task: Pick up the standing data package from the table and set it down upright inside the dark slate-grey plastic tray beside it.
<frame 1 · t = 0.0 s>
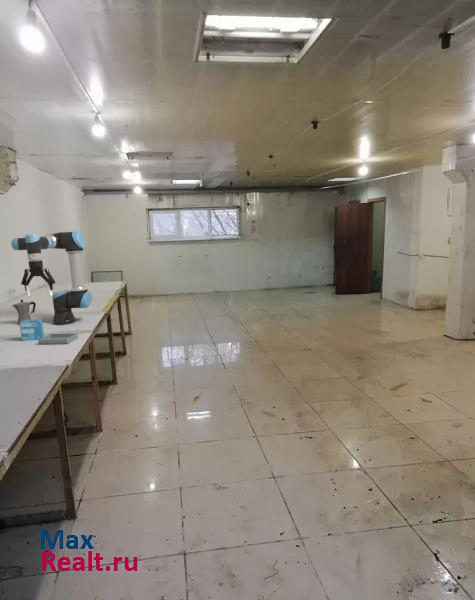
hand: (39, 296, 253), 28 cm above the table, tool pointing down, fingers open, 13 cm apart
data package: (33, 339, 264), on the table
coffeepot: (26, 323, 310), on the table
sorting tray: (58, 341, 256), on the table
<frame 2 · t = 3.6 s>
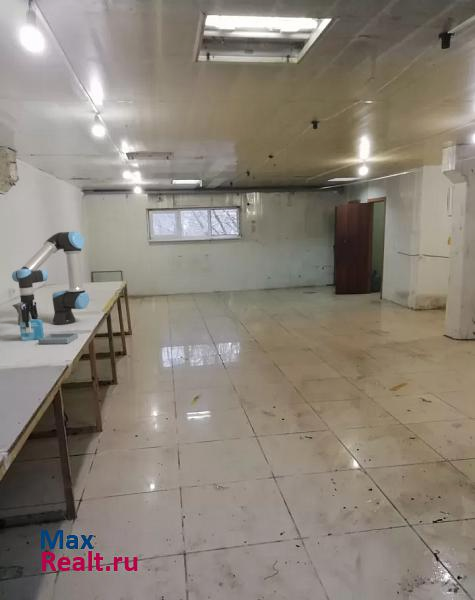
hand: (31, 330, 263), 5 cm above the table, tool pointing down, fingers closed on data package, 6 cm apart
data package: (33, 339, 264), on the table, touching gripper
everything else where it was.
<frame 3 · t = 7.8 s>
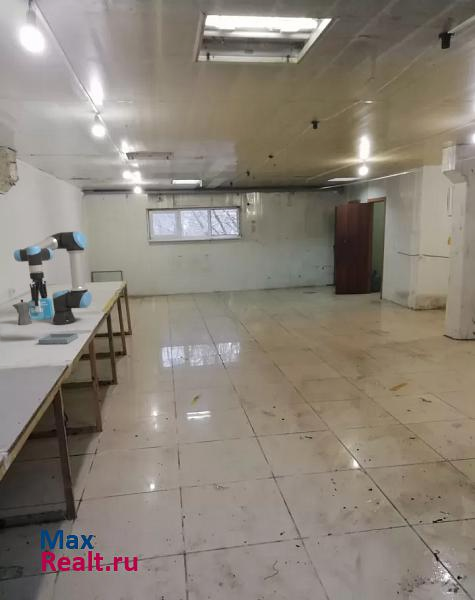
hand: (41, 310, 256), 19 cm above the table, tool pointing down, fingers closed on data package, 5 cm apart
data package: (42, 319, 257), point 13 cm above the table, touching gripper
everything else where it was.
when the fingers open (8 cm above the table, at t = 12.4 s): data package drops 2 cm, resting on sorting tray.
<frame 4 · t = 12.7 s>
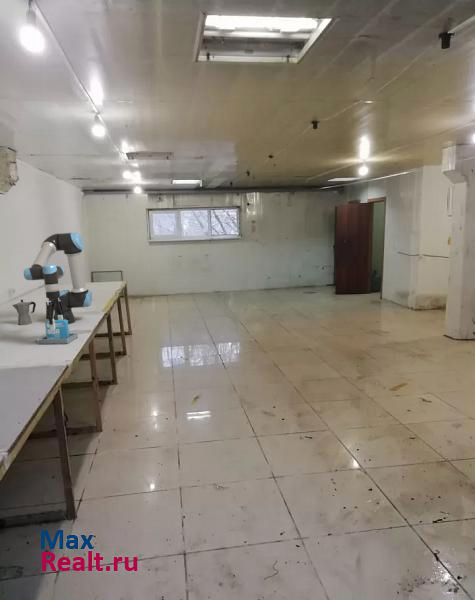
hand: (57, 327, 255), 9 cm above the table, tool pointing down, fingers open, 9 cm apart
data package: (58, 340, 256), point 1 cm above the table, touching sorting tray
everything else where it was.
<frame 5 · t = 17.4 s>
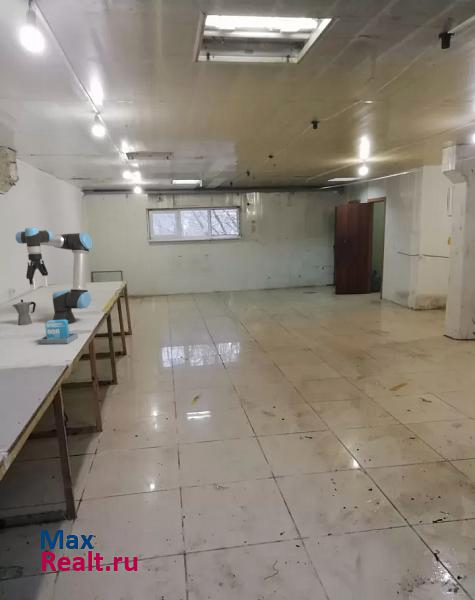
hand: (39, 287, 262), 32 cm above the table, tool pointing down, fingers open, 13 cm apart
nothing on the table moved.
at the end: data package inside the target area on the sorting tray (0.1 cm from its centre), point 0.6 cm above the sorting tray's base; data package tilted 0°; the gripper is holding nothing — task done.
